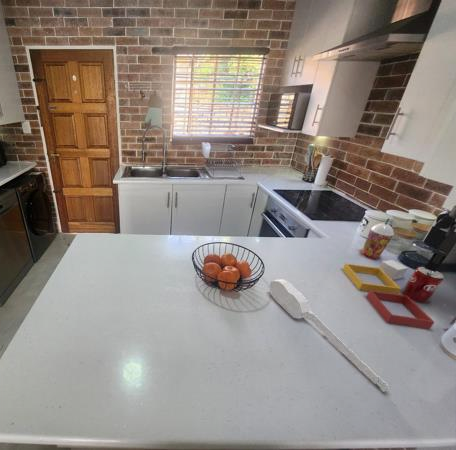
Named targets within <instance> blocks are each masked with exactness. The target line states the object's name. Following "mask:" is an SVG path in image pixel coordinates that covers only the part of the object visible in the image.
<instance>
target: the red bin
mask: <svg viewBox="0 0 456 450" xmlns="http://www.w3.org/2000/svg"><path fill="white" fill-rule="evenodd" d="M365 298H366V299H367V300H368V301H369V303H370V304H371V305H372V306H373V307H374V309H375V310H376V311H377V313H379V315H380V316H381V317H382V318H383V320H384V321H385V322H386V323H387V324H393V325H399V326H406V327H413V328H419V329H425V330H430V329H431V328H432V327H433V325H434V324H435V321H434V320H433V319H432V318H431V317H430V316H429V315H428V314H427V313H426V312H425V311H424V310H423V309H421V307H420V306H418V304H416V302H415V301H414V300H411V299H410V298H409V297H408V296H405V295H404V294H399V293H398V294H392V293H385V292H378V291H368V293H367V294H366V297H365ZM382 301H385V302H392V303H396V304H397V303H398V304H402V305H404V307H405V308H406V309H407V310H408V311H409V312H410V313H411V314H412V315H413V316H414V317H412V316H404V315H398V314H393V313H391V311H390V310H389V309H388V308H387V306H385V304H384V303H383V302H382Z"/></svg>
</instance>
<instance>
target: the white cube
mask: <svg viewBox="0 0 456 450" xmlns="http://www.w3.org/2000/svg"><path fill="white" fill-rule="evenodd" d="M378 268H380V269H381V270H382V271H383V272H384V273H386V274H387V275H388V276H389V277H390V278H391V279H392V280H393V281H394V280H399V279H402V278H403V277H404V276H405V273H407V271H408V269H409V267H408V266H406V265H404V264H401V263H400V262H398V261H396V260H394V259H387V260H382V262H381V263H380V265H379V267H378Z"/></svg>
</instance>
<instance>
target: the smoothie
mask: <svg viewBox="0 0 456 450" xmlns="http://www.w3.org/2000/svg"><path fill="white" fill-rule="evenodd" d="M389 221H390V218H387V219H386V221H385V222H379V223H376V224H374V225H373V226H371V227H370V229H369V232H368V235H367V237H366V240H365V241H364V245H363V247H362V249H361V252H362V253H361V254H362V256H364V257H365V258H368V259H372V260H376V259H378V258H379V257H381V255H382V254H383V252H384V250H385V249H386V247H387V246H388V244H389V243H390V242H391V240H392V238H393V237H394V236H395V232H394V229H393V227H392V226H391V225H390V224H388V223H389Z"/></svg>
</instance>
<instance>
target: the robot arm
mask: <svg viewBox="0 0 456 450" xmlns="http://www.w3.org/2000/svg"><path fill="white" fill-rule="evenodd" d="M448 216H449V217H450V218H452V219H454V220H456V205H454V206H453V207H452V208H451V211H450V212H449V213H448ZM455 246H456V221H453V222H452V223H451V224H450V225H449V227H448V230H447V231H446V233H445V237H444V239H443V240H442V242H441V243H440V245H439V246H438V248H437V249H433V250H432V253H433V254H432V256H431V258H430V259H429V261H428V262H427V263H426V265H425V266H424V267H425V269H428V270H430V271H433V272H436V271H437V272H438V270H439V268H440V267H441V265H442V264H443V262H444V261H445V259H447V257H448V256H449V254H450V252H451V251H452V250H453V248H454V247H455Z"/></svg>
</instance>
